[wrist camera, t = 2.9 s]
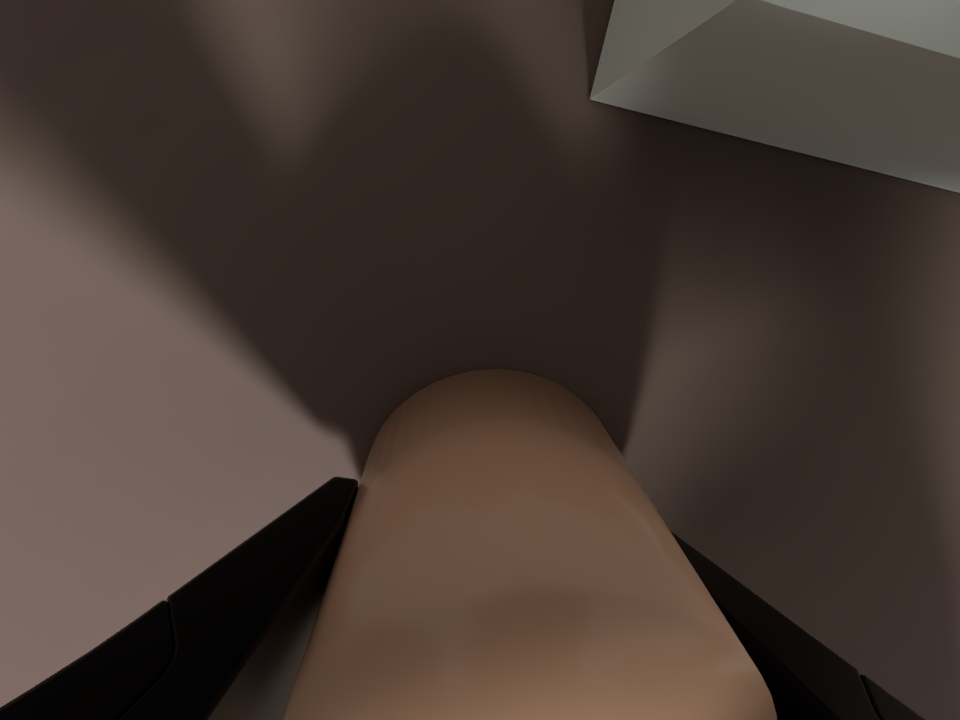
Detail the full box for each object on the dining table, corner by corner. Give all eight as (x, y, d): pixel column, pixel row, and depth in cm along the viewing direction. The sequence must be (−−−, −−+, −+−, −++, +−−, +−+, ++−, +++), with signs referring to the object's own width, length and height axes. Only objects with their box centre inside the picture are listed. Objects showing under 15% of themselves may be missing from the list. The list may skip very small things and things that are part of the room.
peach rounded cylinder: (647, 393, 9) (868, 623, 4) (576, 593, 10) (677, 923, 6) (383, 347, 8) (290, 554, 4) (351, 566, 10) (259, 909, 5)
